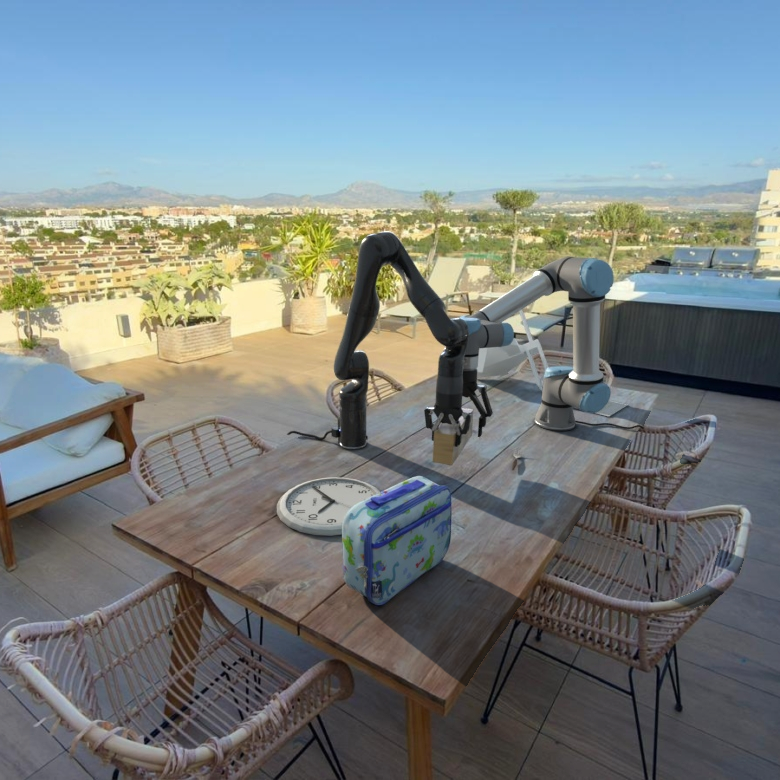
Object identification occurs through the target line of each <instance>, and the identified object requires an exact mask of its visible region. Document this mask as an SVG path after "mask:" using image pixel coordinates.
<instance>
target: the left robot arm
mask: <svg viewBox="0 0 780 780" xmlns="http://www.w3.org/2000/svg"><path fill="white" fill-rule="evenodd" d="M388 265H389V266H391V267H392V268H393V269H394V270H395V271H396V273H398V275H399V276H400V278H401V280H402V282H403V285H404V289H405V293H406V296H407V298H408V300H409V301H410V304H411V305H412V306H413V308H414V309H415V310H416V311H417V312H418V313H419V315H421V317H422V318H423V319H424V320H425V322H426V325H427V327H428V328H429V330H430V333H431V334H432V336H433V338H434V339H435V340H436V341H437V342H438V343H439V344H440V345H442V346H444V347H443V351H442V352H441V353H440V355H439V356H438V363H437V376H436V383H435V385H436V386H435V403H434V405H435V407H434V406H433V407H431V406H427V407H426V408H424V410H423V414H424V421H425V428H426V429H429V430H431V441H432V442H434V432H435V431H436V429H437V428H438V427H439V426H440V425H441V424H442V423H448V424H451V425H452V426H453V428H454V429H455V431H456V440H455V447H458V446H459V445H460V444H461V439H462V434H467V432H468V431H469V427H470V423H471V418H472V413H465V412H463V410H462V408H463V396H462V393H463V360H464V355H465V352H466V348H467V344H468V339H469V328H468V325H467V323H466V322H465V321H464V320H463V319H460V317H453V318H450V317H449V316H448V314H447V312H446V309H447V306H446V303H445V301H443V299H442V298H441V297H440V296H439V295H438V294H437V292H436V291H435V290H434V289H433V288H432V287H431V286H430V284H429V283H428V282H427V280H426V279H425V277H424V276H423V275H422V273H421V271H420V270H419V269H418V267H417V265H416V264H415V262H414V260H413V259H412V258H411V255H410V254H409V252H408V251H407V249H406V248H405V246H404V244H403V243H402V241H401V239H399V237H398V236H397V235H396V234H395V233H393V232H392V231H388V230H387V231H385V230H384V231H380V232H376V233H372V234H369V235H367V236H365V237H364V238H363V239H362V241H361V243H360V245H359V249H358V255H357V265H356V271H355V279H354V284H353V287H352V293H351V297H350V301H349V305H348V309H347V314H346V319H345V324H344V329H343V332H342V335H341V339H340V342H339V345H338V347H337V350H336V353H335V356H334V359H333V360H334V361H333V372H334V376H335V378H337V379H338V380H340V381H349V383H347V384H346V385H344V386H343V387H341V388H340V390H339V393H338V396H339V397H338V399H339V416H338V417H337V426H334V427H331V429H330V430H327V431H325V433H324V435H323V436H321V437H320V436H317V435H314V434H310V433H306V432H300V431H297V430H290V431H288V432H287V433H286V436H290V435H291V434H292V435H293V434H294V435H295V434H296V435H299V436H303V437H308V438H313V439H316V440H319V441H324V440H325V439H326V438H327V436H328V435H329V434H331V437H332V438H335V439H337V444H339V446H340V447H341V448H342V449H345V450H361V449H364V448H365V447H366V446H367V444H368V443H367V441H368V439H369V438H368V435H367V394H368V391H369V378H370V377H369V376H370V362H369V357H368V355H367V352H365V351H363V350H356V349H357V347H358V346H359V345H360V344H361V343H362V342H363V341H364V340H365V339H366V337H368V336H369V334H370V333H372V331H373V329H374V328H375V326H376V324H377V320H378V316H379V313H380V308H381V303H380V297H379V295H378V292H377V281H378V277H379V274H380V273H381V272H380V271H381V269H382V268H383V267H385V266H388ZM433 414H434V415H435V416H436V418H437V419H436V420H435V422H434V423H433V418H432V415H433ZM461 416H463V419H464V421H465V424H464V428H463V429H462V428H461V425H460V421H459V418H460V417H461Z"/></svg>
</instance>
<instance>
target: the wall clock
mask: <svg viewBox="0 0 780 780" xmlns="http://www.w3.org/2000/svg"><path fill="white" fill-rule="evenodd" d="M380 492H382V491H381V490H380V489H379V488H377V487H376V486H374V485H372V484H371V483H369V482H365V481H362V480H359V479H355V478H349V477H338V476H337V477H335V476H333V477H332V476H331V477H322V478H317V479H312V480H307V481H305V482H302V483H299V484H297V485H295V486H293V487H292V488H290V489H288V490H287V491H286V492H285V493H284V494H283V495H281V496H280V498H279V499H278V502H277V503H276V515H277V517H278V518H279V520H280V521H281V522H282V523H283V524H285V525H286V526H287V527H288V528H290V529H293V530H295V531H297V532H299V533H303V534H308V535H312V536H327V537H328V536H329V537H331V536H332V537H333V536H342V525H343V521H344V518H345V516H346V514H347V512H348V511H349V510H350V509H351V508H352V507H353V506H354V505H356V504H358V503H360V502H362V501H364V500H366V499H368V498H370V497H372V496H374V495H376V494H378V493H380Z"/></svg>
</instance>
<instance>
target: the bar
mask: <svg viewBox="0 0 780 780" xmlns="http://www.w3.org/2000/svg"><path fill="white" fill-rule="evenodd" d="M462 410H463V412H465V413H472V418H471V423H470V427H469V431H468V432H467V434H462V439H461V444H460V445H459V446H458V447H455V440H456V431H455V429H454V428H453V426H452V425H451V424H448V423H440V425H439V427H438V428H437V429H436V431H435V432H434V441H433V445H432V446H433V447H432V463H436V464H440V465H441V464H442V465H445V466H450V467H451V466H453V465H454V464H455V462H456V460H457V459H458V458H459V456H460V455H461V453H462V452H463V450H464V448H465V447H466V445H467V444H468V442H469V441H470V439H471V438H472V436H473V421H474V408H467V407H462ZM459 421H460V425H461V428H462V429H463V428H464V424H465V421H464V419H463V416H461V417H460V418H459Z"/></svg>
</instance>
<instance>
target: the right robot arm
mask: <svg viewBox="0 0 780 780" xmlns="http://www.w3.org/2000/svg"><path fill="white" fill-rule="evenodd" d="M613 271H614V270H613V268H612V267H611V265H610V264H609V263H608V262H607V261H605V260H603V259H598V258H595V257H579V256H578V257H575V256H565V257H561V258H558V259H556V260H554V261H552V262H550V263H548V264H545V265H544V266H542V267H541V268H539V269H538V270H536V271H534V272H533V273H532V277H530V278H528V279H527V280H526V281H524V282H522V283H521V284H519V285H517V286H516V287H515V288H513V289H511V290H510V291H508V292H506V293H505V294H503V295H502V296H500V297H499V298H497V299H495V300H494V301H492V302H491V303H489V304H488V305H485V306H484V307H483V308H481V309H479V310H478V311H476V312H475V313H473V314H471V315H470V314H464V315H461V316H459V318H460V319H463V320H464V321H465V322H466V323H467V325H468V328H469V339H468V344H467V348H466V352H465V355H464V360H463V393H462V398H463V397H464V398H466V399H467V398H469V399H470V401H472V403H473V405H474V406H475V408H476V410H477V411H478V413H479V415H480V416H479V417H478V427H477V428H478V429H477V438H481V436H483V428H485V427H486V425H487V418H491V417H492V416H493V413H494V411H493V408H492V405H491V403H490V400H489V397H488V393H487V390H488V386H487V385H486V384H484V385H479V384H478V378H477V371H478V370H477V369H476V368H477V367H478V356H479V349H480V348H491V347H503V346H508V345H510V344H511V343H512V341H513V339H514V338H515V337H514V335H515V331H514V328H513V326H512V325H511V324H510V323H509V322H504V321H506V320H508V319H510V318H511V317H512V316H514V315H515V314H517V313H519V311H520V310H522V311H523V309H525V308H527V307H528V306H530V305H531V304H533V303H534V302H536V301H537V300H539V299H540V298H542V297H548V296H551V295H553V294H555V293H557V292H568V293H567V294H568V295H567V297H568V298H567V299H568V302H569V303H570V304H571V305H572V342H573V343H572V358H573V359H572V366H566V365H565V366H564V365H562V366H561V365H559V366H558V365H557V366H550V367H549V366H548V367H549V368H547V369H546V370H545V369H544V375H543V381H542V387H543V390H542V391H541V402H540V405H539V407H538V410H537V411H536V413H535V417H534V424H535V425H536V426H537V427H539V428H542V429H544V430H549V431H556V432H567V431H572V430H574V429H575V428H576V423H577V424H582V425H585V426H592V427H596V426H597V427H598V426H612V427H615V428H619V429H624V430H633V429H635V428H640V429H641V430H642V429H643V430H645V427H644V426H642V425H640V424H636V425H633V426H622V425H618V424H616V423H610V422H602V423H589V422H585V421H579V420H576V418H575V417H576V416H575V413H574V409H576V408H577V409H576V410H580V411H581V412H583V413H588V414H596V412H599V411H600V410H602V409H603V408H604V407H605V405H606V404H607V403H608V401H609V400H610V399H611V394H612V393H611V392H612V391H611V387H610V386H609V385H608V383H605V382H604V379H605V378H604V373H603V371H601V370H600V342H601V341H600V336H601V335H600V331H601V321H600V320H601V304H602V303H603V302H604V300H606V295H607V294H608V293H610V291H611V290H612V287H613V284H614V280H615V279H614V278H615V277H614V272H613ZM477 390H478V392H479V393H480V395H481V400H482V402H483V404H482V402H481V401H480V400H479V397H478V395H477V393H476V391H477ZM434 407H435V404H434V405H433V408H434ZM574 407H575V408H574Z"/></svg>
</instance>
